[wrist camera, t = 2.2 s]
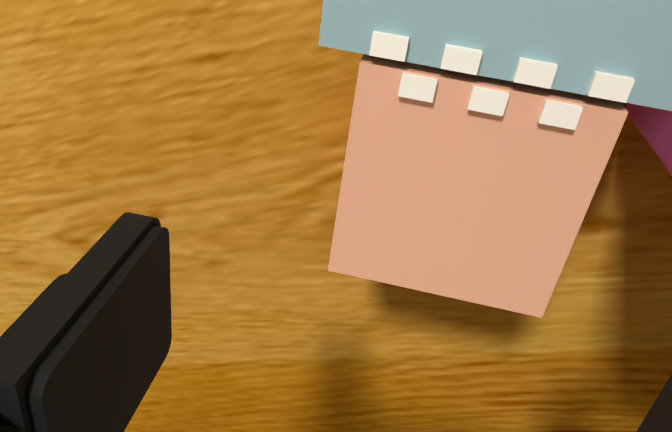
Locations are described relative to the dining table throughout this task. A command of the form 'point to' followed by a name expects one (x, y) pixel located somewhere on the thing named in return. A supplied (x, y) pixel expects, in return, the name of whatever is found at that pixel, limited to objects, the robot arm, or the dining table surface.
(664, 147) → the gum box
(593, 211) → the dining table surface
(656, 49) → the long grey-blue brick
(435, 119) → the stub
